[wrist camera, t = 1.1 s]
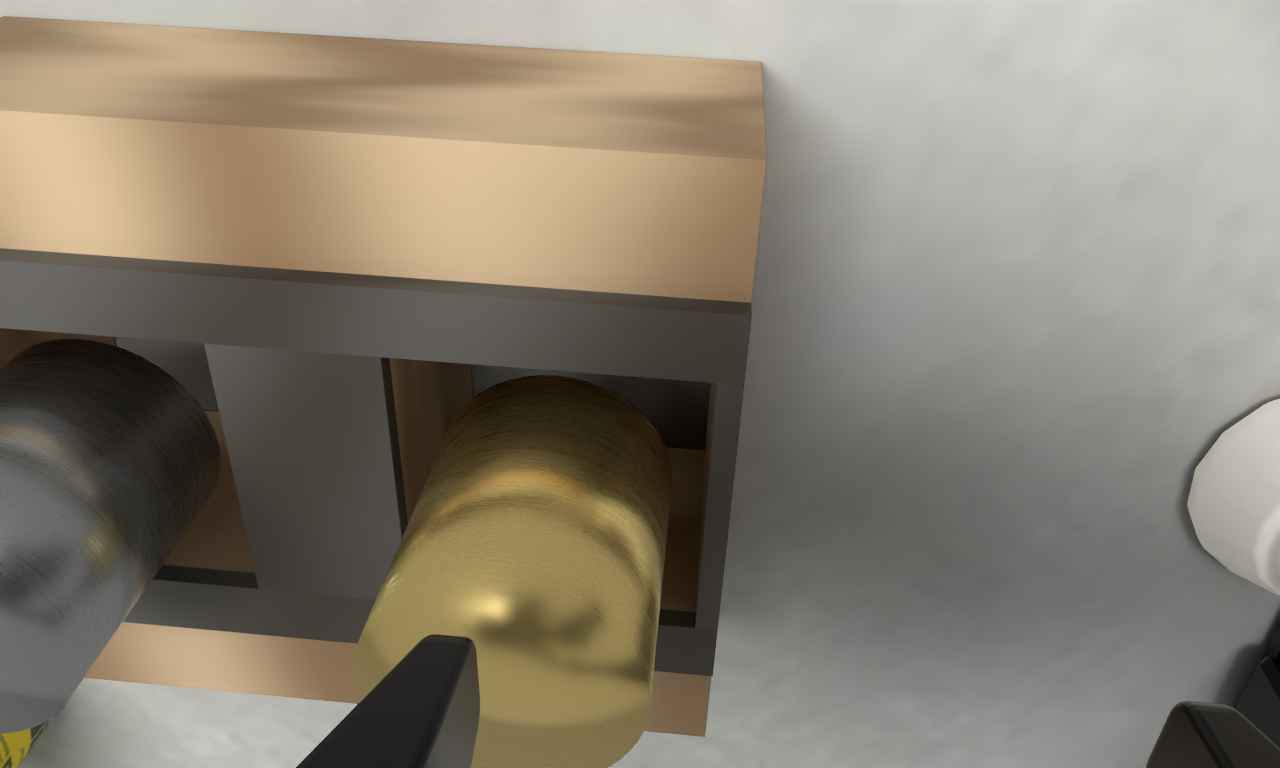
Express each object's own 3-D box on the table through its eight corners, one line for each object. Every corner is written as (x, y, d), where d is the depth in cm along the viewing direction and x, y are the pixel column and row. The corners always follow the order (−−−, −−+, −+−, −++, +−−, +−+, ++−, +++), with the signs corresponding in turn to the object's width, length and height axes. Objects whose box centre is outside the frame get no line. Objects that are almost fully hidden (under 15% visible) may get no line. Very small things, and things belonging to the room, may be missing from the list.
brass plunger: (678, 385, 17) (657, 596, 13) (665, 569, 19) (644, 799, 15) (434, 366, 17) (336, 567, 13) (450, 550, 19) (370, 772, 15)
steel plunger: (197, 347, 17) (26, 540, 13) (238, 532, 19) (103, 746, 15) (-35, 329, 17) (-275, 513, 13) (32, 514, 19) (-156, 720, 15)
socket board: (761, 61, 18) (766, 170, 14) (711, 565, 25) (704, 753, 20) (3, 16, 19) (-230, 105, 14) (147, 517, 25) (17, 687, 21)
